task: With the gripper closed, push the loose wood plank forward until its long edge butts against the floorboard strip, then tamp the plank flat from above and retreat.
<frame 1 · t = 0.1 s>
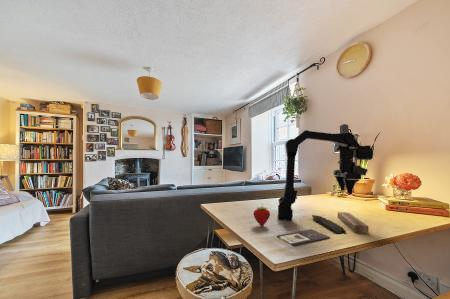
hand: (346, 192, 98), 15 cm above the table, tool pointing down, fingers open, 9 cm apart
laid board: (351, 224, 95), on the table
chocolate bar: (303, 239, 80), on the table
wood: (328, 226, 95), on the table
strawberry: (261, 226, 92), on the table
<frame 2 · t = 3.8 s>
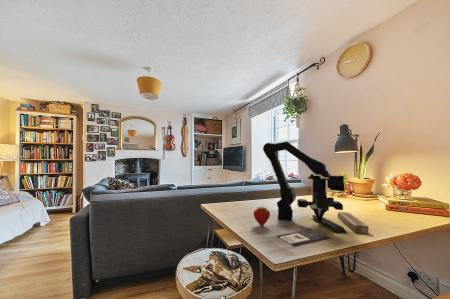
hand: (318, 222, 95), 1 cm above the table, tool pointing down, fingers closed
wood: (328, 226, 95), on the table, touching gripper
everything else where it was.
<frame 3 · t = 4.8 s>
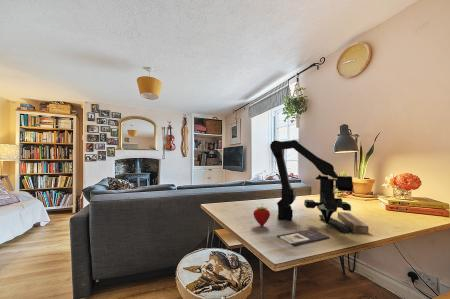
hand: (326, 223, 95), 1 cm above the table, tool pointing down, fingers closed
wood: (335, 226, 95), on the table
everything else where it was.
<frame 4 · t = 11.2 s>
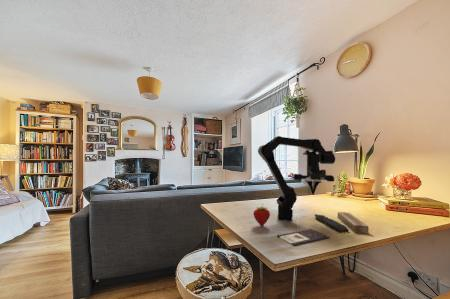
hand: (312, 194, 105), 12 cm above the table, tool pointing down, fingers closed
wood: (330, 225, 96), on the table
everything else where it was.
at the end: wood inside the target area (2.8 cm from its centre), on the table; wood tilted 1° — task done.
